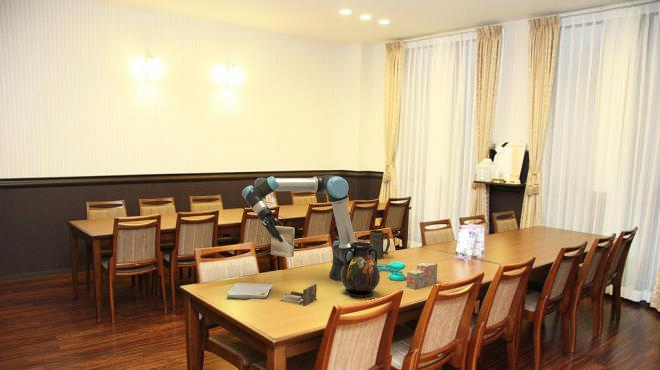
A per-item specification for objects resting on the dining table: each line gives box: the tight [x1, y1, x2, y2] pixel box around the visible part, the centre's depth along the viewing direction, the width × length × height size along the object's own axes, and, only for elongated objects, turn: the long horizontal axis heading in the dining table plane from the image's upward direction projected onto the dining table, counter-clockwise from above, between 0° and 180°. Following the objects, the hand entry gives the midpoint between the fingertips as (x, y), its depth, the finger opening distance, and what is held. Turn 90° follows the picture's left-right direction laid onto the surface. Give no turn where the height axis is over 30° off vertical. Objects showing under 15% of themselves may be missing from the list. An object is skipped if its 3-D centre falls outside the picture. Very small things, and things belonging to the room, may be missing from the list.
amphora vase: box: [340, 241, 381, 299], centre depth 269 cm, size 22×22×28 cm
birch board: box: [270, 225, 296, 258], centre depth 259 cm, size 4×12×15 cm, turn 65°
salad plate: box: [226, 282, 273, 300], centre depth 264 cm, size 21×21×3 cm
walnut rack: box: [279, 283, 318, 307], centre depth 254 cm, size 12×15×9 cm
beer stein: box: [369, 229, 391, 260], centre depth 358 cm, size 15×11×20 cm
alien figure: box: [377, 263, 403, 274], centre depth 324 cm, size 20×2×20 cm
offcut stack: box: [282, 293, 303, 306], centre depth 251 cm, size 4×10×3 cm, turn 64°
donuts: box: [388, 261, 406, 282], centre depth 303 cm, size 10×10×10 cm
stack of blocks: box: [405, 261, 438, 290], centre depth 292 cm, size 21×6×12 cm, turn 133°
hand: (288, 245), depth 257 cm, fingers closed on birch board, 3 cm apart
